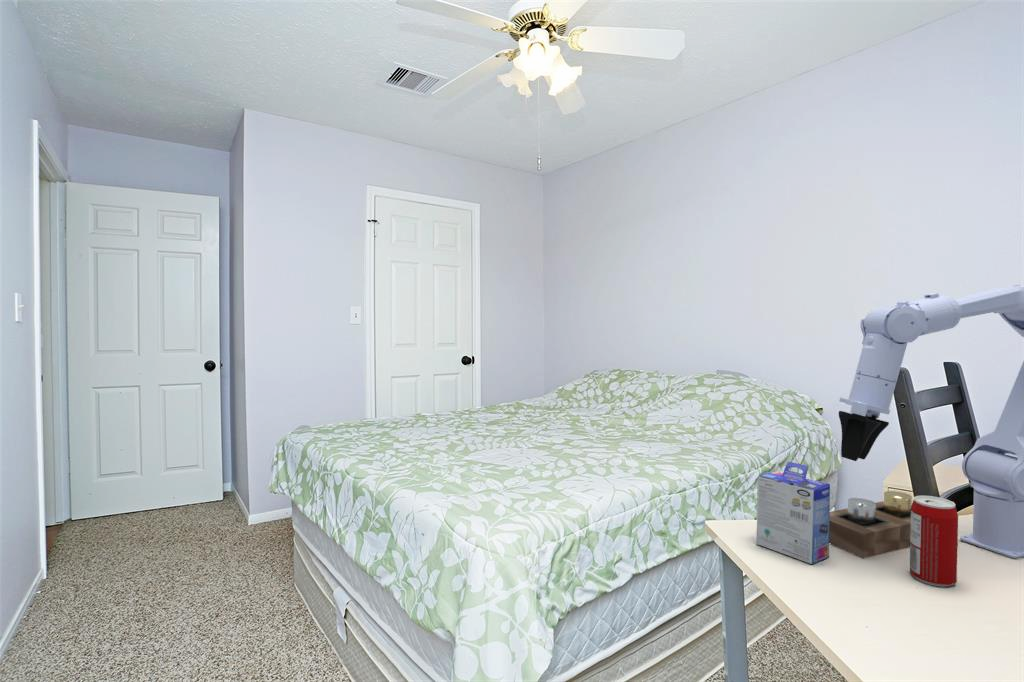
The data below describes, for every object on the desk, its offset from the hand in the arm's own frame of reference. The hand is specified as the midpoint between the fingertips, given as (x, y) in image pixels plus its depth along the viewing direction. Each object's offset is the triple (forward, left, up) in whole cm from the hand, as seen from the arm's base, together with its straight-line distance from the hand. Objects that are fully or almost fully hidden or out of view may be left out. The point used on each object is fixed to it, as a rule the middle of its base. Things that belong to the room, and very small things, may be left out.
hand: (853, 458), depth 90 cm
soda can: (-2, +11, -16) cm, 19 cm away
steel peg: (-5, -2, -12) cm, 13 cm away
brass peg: (-14, -2, -12) cm, 18 cm away
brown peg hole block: (-9, -2, -16) cm, 18 cm away
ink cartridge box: (+9, -4, -16) cm, 19 cm away
